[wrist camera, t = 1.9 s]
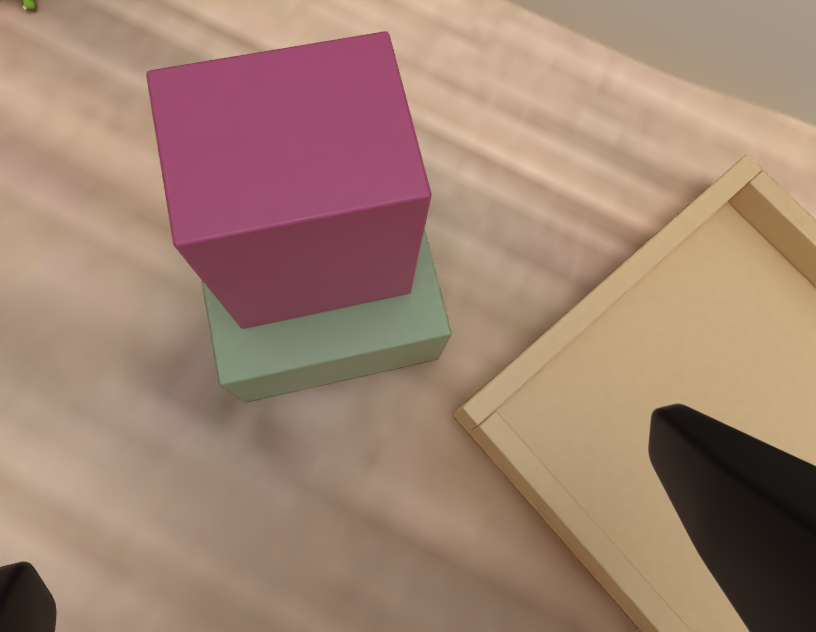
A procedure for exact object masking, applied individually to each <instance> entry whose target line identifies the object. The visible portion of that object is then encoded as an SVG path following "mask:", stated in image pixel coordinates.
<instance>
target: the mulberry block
mask: <svg viewBox="0 0 816 632" xmlns="http://www.w3.org/2000/svg"><path fill="white" fill-rule="evenodd" d="M146 76H147V83H148V89H149V95H150V101H151V108H152V114H153V120H154V126H155V133H156V139H157V145H158V151H159V157H160V164H161V170H162V176H163V182H164V189H165V195H166V201H167V207H168V214H169V220H170V226H171V232H172V238H173V245H174V246H175V248H176V249H177V250H178V251H179V252H180V254H181V255H182V256H183V257H184V259H185V260H186V261H187V262H188V264H189V265H190V266H191V267H192V268H193V270H194V271H195V272H196V273H197V275H198V276H199V277H200V278H201V280H202V281H203V282H204V283H205V284H206V286H207V287H208V288H209V289H210V291H211V292H212V293H213V294H214V295H215V297H216V298H217V299H218V300H219V302H220V303H221V304H222V305H223V307H224V308H225V309H226V310H227V311H228V313H229V314H230V315H231V316H232V318H233V319H234V320H235V321H236V322H237V324H238V325H239V326H240V327H241V328H242V329H245V328H250V327H254V326H259V325H264V324H268V323H273V322H278V321H283V320H287V319H292V318H297V317H302V316H306V315H311V314H316V313H320V312H325V311H330V310H335V309H339V308H344V307H349V306H354V305H358V304H363V303H368V302H372V301H377V300H382V299H387V298H391V297H396V296H401V295H406V294H410V293H411V290H412V285H413V281H414V276H415V271H416V266H417V262H418V257H419V252H420V247H421V243H422V238H423V233H424V228H425V224H426V219H427V214H428V209H429V205H430V200H431V190H430V187H429V183H428V179H427V175H426V171H425V168H424V164H423V160H422V156H421V152H420V149H419V145H418V141H417V137H416V133H415V130H414V126H413V122H412V118H411V114H410V111H409V107H408V103H407V99H406V95H405V92H404V88H403V84H402V80H401V76H400V73H399V69H398V65H397V61H396V57H395V54H394V50H393V46H392V42H391V38H390V35H389V33H388V32H379V33H373V34H367V35H361V36H355V37H349V38H343V39H337V40H331V41H325V42H319V43H313V44H307V45H301V46H295V47H289V48H283V49H277V50H271V51H265V52H259V53H253V54H247V55H240V56H234V57H228V58H222V59H216V60H210V61H204V62H198V63H192V64H186V65H180V66H174V67H168V68H162V69H156V70H150V71H148V72H147V75H146Z"/></svg>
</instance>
